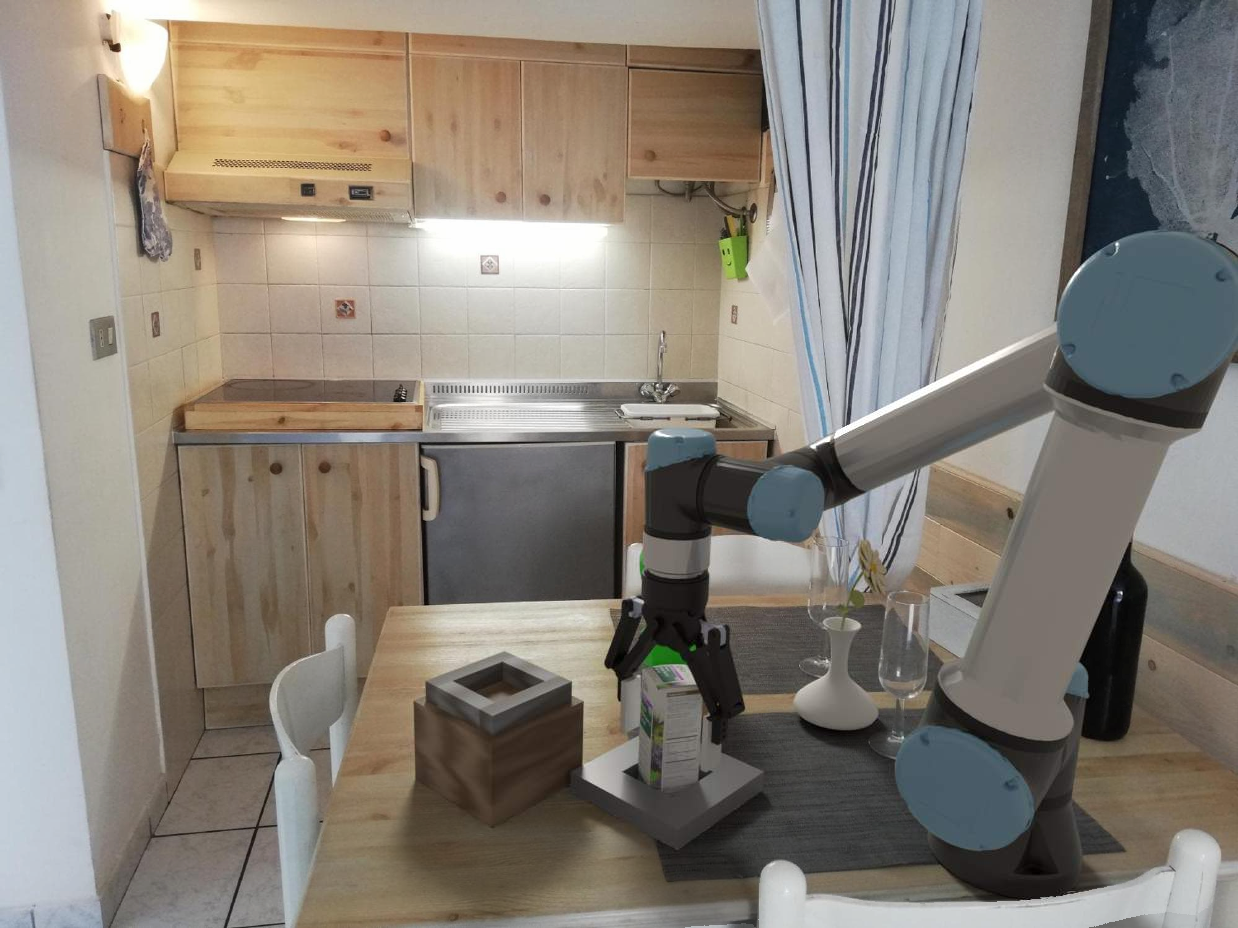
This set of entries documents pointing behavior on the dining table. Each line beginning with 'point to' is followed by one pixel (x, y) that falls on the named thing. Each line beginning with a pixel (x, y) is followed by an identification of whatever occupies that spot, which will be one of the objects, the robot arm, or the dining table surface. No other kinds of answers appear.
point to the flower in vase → (844, 661)
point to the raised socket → (497, 736)
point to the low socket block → (656, 812)
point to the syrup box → (669, 729)
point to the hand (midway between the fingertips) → (668, 746)
